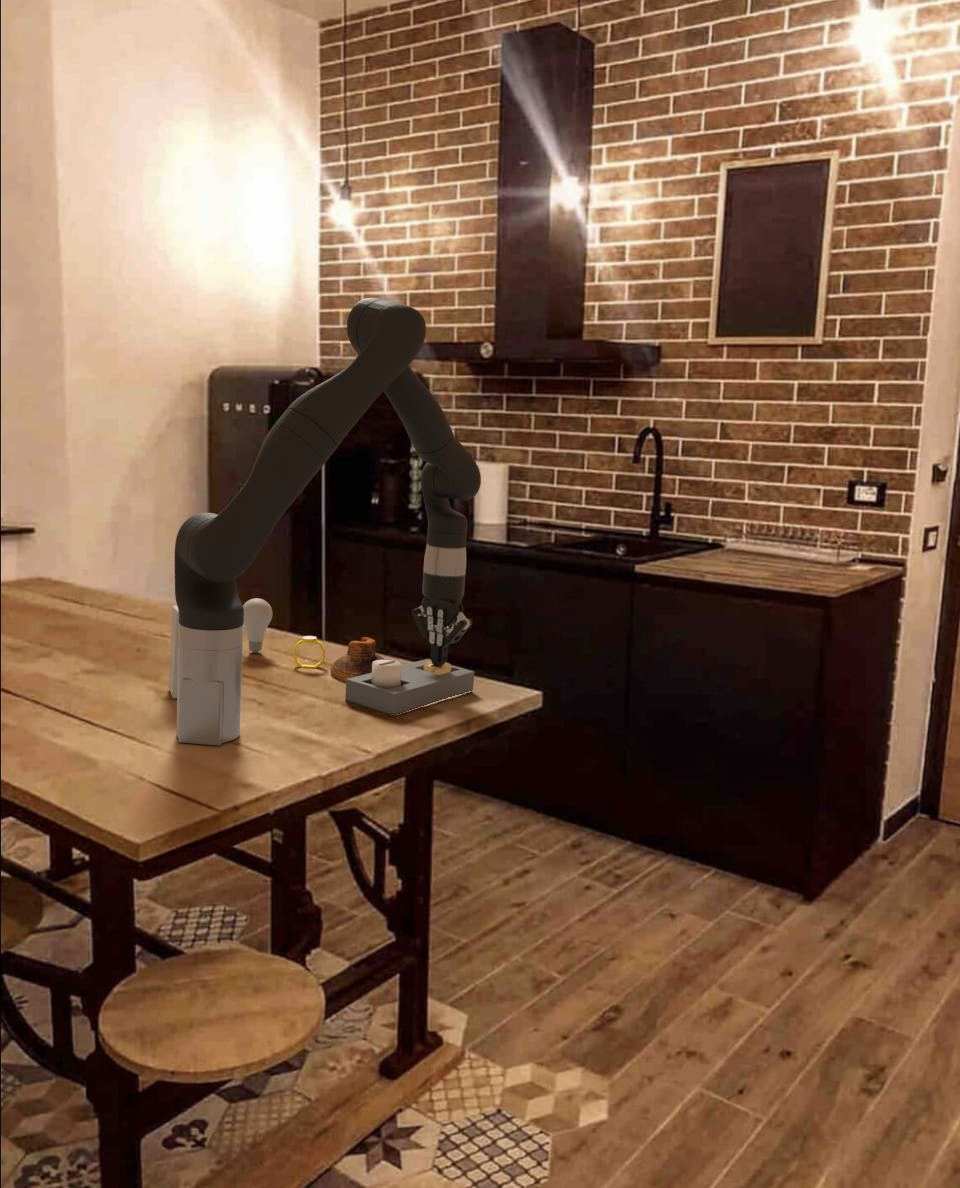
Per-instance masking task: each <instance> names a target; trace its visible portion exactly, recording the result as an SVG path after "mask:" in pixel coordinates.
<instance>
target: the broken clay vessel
mask: <svg viewBox="0 0 960 1188" xmlns="http://www.w3.org/2000/svg"><path fill="white" fill-rule="evenodd" d="M376 644H377V643H376V640H375V639H372V638H370V637H367V636H366V637H365V636H362V637H361V639H360V641H359V640H351V641H350V642H349V643H348V644H347V647H348V648H347V653H346V654H345V655H343V656H341V657H339V658H338V659H336V660H335V661H333V663H332V664H331V667H330V674H331V676H333V678H335V679H336V680H338V681H342V682H345V683H346V679H349V678H353V677H357V676H361V675H365V674H369V673H372V663H373V661H376V660H386V659H385V658H384V657H383V656H381V655H379V654H376V653H377V652H376V649H377V647H376Z"/></svg>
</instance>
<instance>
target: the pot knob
mask: <svg viewBox="0 0 960 1188" xmlns="http://www.w3.org/2000/svg"><path fill="white" fill-rule="evenodd" d="M402 665H403V664H402V662H400V661H397V660H392V659H385V660H376V661H373V663H372V680H371V684H372V685H375V686H378V687H381V688H385V689H391V688H394V687H398V686H400V685H401V670H402Z"/></svg>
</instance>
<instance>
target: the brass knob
mask: <svg viewBox="0 0 960 1188" xmlns="http://www.w3.org/2000/svg"><path fill="white" fill-rule="evenodd" d="M451 665H452V664H451V663H449V662H447V661H446V662H445V664H443V665H440V666H438V665H435V664H432V661H429V662H425V663H424V671H427V672H431V673H434V674H438V675H442V674H446V673H449V672H451Z"/></svg>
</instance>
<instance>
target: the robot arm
mask: <svg viewBox="0 0 960 1188" xmlns="http://www.w3.org/2000/svg"><path fill="white" fill-rule="evenodd" d="M421 313H422V312H420V311H418V310H417V309H415V308H414V307H411V306H410V305H406V304H404V303H400V302H395V301H391V300H388V299H384V298H377V297H365V298H364V299H361V300H360V301H358V302H356V303H355V304H354V305H353V307H351V310H350V312H349V314H348V316H347V321H346V332H347V337H348V340H349V343H350V345H351V347H352V348H353V350H354V351H355V353H356V354H357V356H356V357H355V358H354V360H352V361H351V363H349V365H347V366H346V367H345V368H344V369H343V370H341V371H340V372H338V373H337V374H335V375H333V376H332V377H330V378H329V379H326V380H325V381H323V382H321V383H319V384H318V385H316V386H314V387H313V388H311V389H309V390H307V391H305V393H303V394H301V395H300V396H299V397H298V398H296V399H295V400H294V401H293V402H292V403H291V404H290V405H289V406H288V407H287V408H286V409H285V411H284V412H283V413H282V415H281V416H280V417H279V418H278V419H277V421H276V422H275V423H274V425H273V426H272V427H271V429H270V430H269V431H268V433H267V434H266V435H265V438H264V440H263V442H262V443H261V446H260V448H259V450H258V453H257V456H256V459H255V461H254V464H253V467H252V469H251V471H250V473H249V476H248V478H247V480H246V481H245V483H244V485H243V486H242V487H241V489H240V490H239V491H238V493H237V494H236V495H234V497H233V498H232V499H231V501H229V503H228V504H227V505H226V506H225V507H224V508H223V509H222V510H221V511H220V512H219V513H218V514H217V513H213V512H201V513H197V514H193V515H192V516H190V517H189V518H187V519H186V520H185V521H184V522H183V524H181V526H180V527H179V528H178V529H179V530H178V532H177V534H176V538H175V544H174V597H175V598H174V599H175V603H176V606H178V611H179V644H178V685H177V698H176V699H177V700H176V736H177V738H178V742H179V743H184V744H185V743H186V744H194V745H195V744H197V745H205V746H206V745H209V746H221V745H222V744H224V743H228V742H231V741H233V740H234V741H235V740H236V739H237V738H238V737H239V736H240V734H241V708H242V707H241V706H242V704H241V703H242V702H241V701H242V677H243V676H242V675H243V674H242V673H243V650H244V649H243V647H244V608H243V605H244V604H243V602H242V601H241V598H240V597H239V594H238V590H237V589H238V588H237V578H239V577H240V576H242V575H243V574H244V573H245V572H246V571H247V570H248V569H249V567H250V566H251V565H252V563H253V562H254V560H255V559H256V557H257V556H258V555H259V553H260V552H261V549H262V548H263V546H264V544H265V543H266V541H267V540H268V538H269V537H270V535H271V533H272V532H273V530H274V528H275V527H276V525H277V524H278V523H279V521H280V520H281V518H282V517H283V515H284V514H285V513H286V511H287V510H288V509H289V508H290V507H291V505H293V503H294V502H295V501H296V499H297V498H298V497H299V496H300V495H301V493H302V492H303V491H304V490H305V488H306V487H307V486H308V484H309V483H310V482H311V480H312V479H314V477H315V476H316V475H317V474H318V472H319V471H321V469H322V467H323V466H324V465H325V464H326V463H327V461H328V460H329V459H330V458H331V456H332V455H333V454H334V452H335V451H336V450H337V449H338V448H339V445H340V444H341V443H342V441H343V440H344V439H345V437H346V436H348V433H349V432H351V430H352V429H353V428H354V426H355V425H356V424H357V423H358V422H359V421H360V419H361V418H362V417H363V415H365V413H366V412H367V411H368V410H369V409H370V407H371V406H372V405H373V404H374V402H375V401H376V400H377V399H378V398H379V396H381V395H382V393H384V394H385V395H386V398H387V399H388V401H389V402H390V403H391V406H392V407H393V408H394V410H395V412H396V414H397V416H398V418H399V420H400V421H401V423H402V425H403V427H404V429H405V432H406V433H407V435H408V438H409V440H410V442H411V444H412V446H413V448H414V450H415V452H416V454H417V455H418V457H419V458H420V459H421V460H422V461H424V462H425V464H424V465H423V468H422V471H421V476H420V486H421V492H422V497H423V501H424V502H423V503H424V507H425V511H426V512H425V513H426V517H427V535H426V547H425V552H424V556H423V557H424V561H423V575H422V576H423V577H422V586H421V587H422V595H423V599H422V601H421V605H420V606H419V607H416V608H413V609H411V611H410V612H411V615H412V618H413V619H414V622H415V624H416V625H417V628H418V631H419V632H420V634H421V636H422V638H423V639H425V640H428V641H429V643H430V658H429V659H431V660H432V664H435V665H438V666H440V665H443V664H445V662H446V663H447V661H448V652H449V645H452V644H455V643H457V642H459V641H460V639H461V638H462V637H463V636H464V634H466V632H467V631H468V630H469V629H470V628H471V626H472V625H473V622H474V621H473V620H472V618H467V617H466V616H465V614H464V607H463V604H462V600H463V597H464V595H465V584H466V583H465V582H466V571H467V570H466V569H467V547H466V546H467V536H468V535H467V534H468V519H467V516H466V515H464V514H462V513H461V512H458V511H456V510H455V509H453V508H452V506H451V504H450V500H451V499H452V500H457V501H469V500H471V499H472V498H474V497H475V496H477V494H478V492H479V491H480V488H481V483H482V476H481V471H480V468H479V466H478V464H477V462H476V461H475V459H474V458H473V456H472V455H471V454H470V453H469V451H468V450H467V449H466V448H465V447H464V445H463V444H462V443H461V442H460V441H459V440H458V439H457V438H456V437H455V434H454V432H453V429H452V427H451V426H450V424H449V421H448V419H447V416H446V414H445V411H444V410H443V408H442V407H441V405H440V404H439V402H438V400H437V399H436V397H435V396H433V394H432V393H431V392H430V390H429V389H428V388H427V387H426V385H425V384H424V383H423V382H422V381H421V379H419V378H418V376H417V375H416V374H415V372H414V370H412V368H411V366H410V365H411V364H412V363H413V361H414V360H415V359H416V358H417V356H418V355H419V354H420V352H421V350H422V347H423V346H424V343H425V341H426V340H425V339H426V336H427V335H426V334H427V325H426V321H425V318H424V316H423V315H422V314H421ZM449 499H450V500H449Z"/></svg>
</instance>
